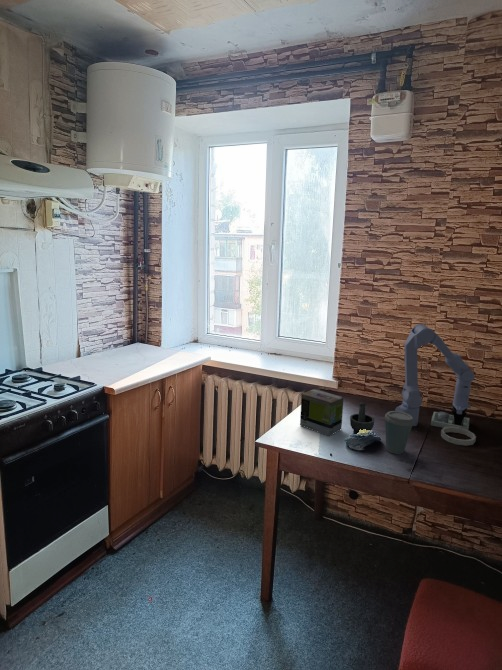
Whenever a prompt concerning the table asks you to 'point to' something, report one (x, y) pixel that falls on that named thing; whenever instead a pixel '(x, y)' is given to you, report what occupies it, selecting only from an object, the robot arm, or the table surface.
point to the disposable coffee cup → (397, 430)
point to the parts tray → (449, 424)
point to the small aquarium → (321, 411)
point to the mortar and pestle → (361, 420)
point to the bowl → (458, 441)
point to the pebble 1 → (443, 417)
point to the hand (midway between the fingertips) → (457, 424)
